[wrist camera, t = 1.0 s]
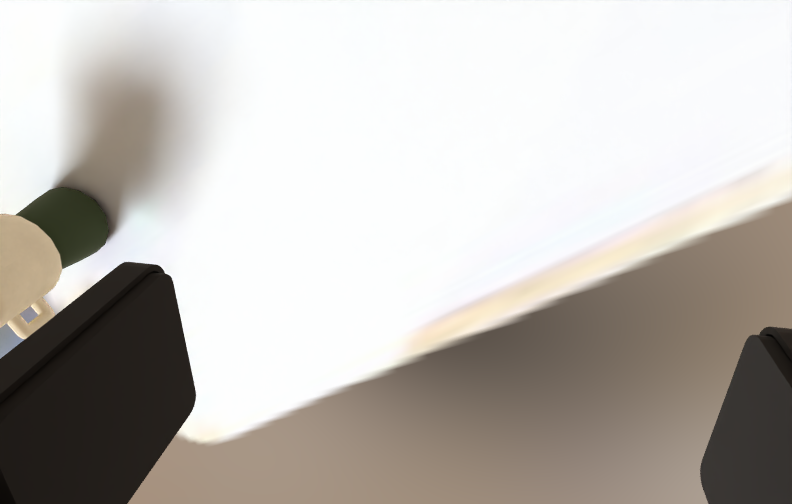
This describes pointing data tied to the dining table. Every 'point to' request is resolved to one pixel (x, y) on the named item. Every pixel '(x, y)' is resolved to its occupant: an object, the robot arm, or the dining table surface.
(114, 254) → the dining table surface
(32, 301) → the character mug
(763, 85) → the dining table surface
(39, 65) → the dining table surface
